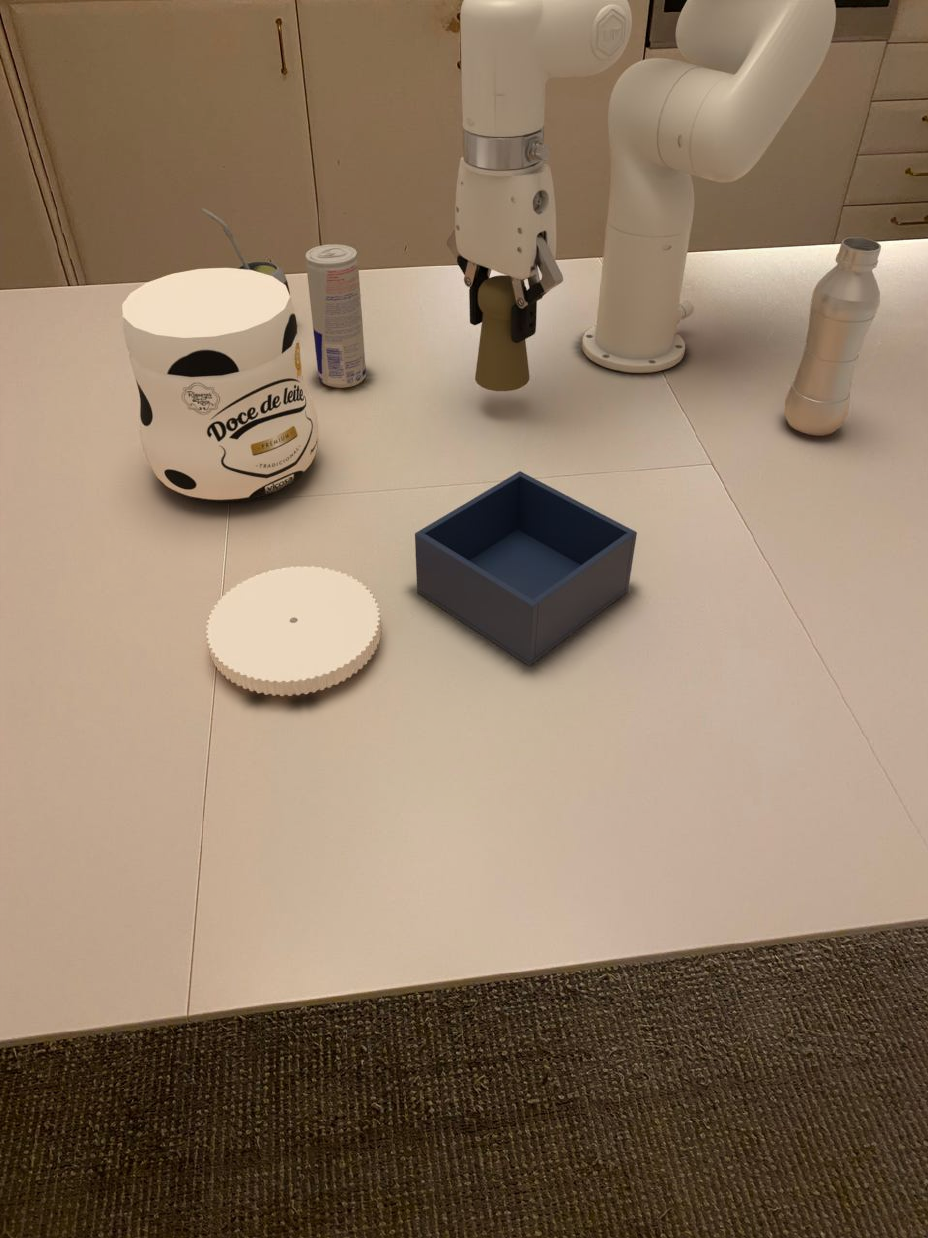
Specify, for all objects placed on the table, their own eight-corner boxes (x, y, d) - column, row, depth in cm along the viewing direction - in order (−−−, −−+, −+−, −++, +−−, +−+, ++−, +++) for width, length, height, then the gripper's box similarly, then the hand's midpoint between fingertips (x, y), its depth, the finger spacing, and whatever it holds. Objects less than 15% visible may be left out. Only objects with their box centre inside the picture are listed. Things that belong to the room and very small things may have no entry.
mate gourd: (303, 333, 121) (289, 212, 111) (246, 349, 118) (226, 226, 108) (277, 312, 126) (261, 194, 116) (221, 327, 122) (200, 207, 112)
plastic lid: (385, 587, 84) (383, 564, 83) (377, 703, 74) (375, 680, 72) (226, 588, 84) (221, 566, 82) (196, 706, 74) (190, 683, 72)
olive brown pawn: (525, 393, 102) (527, 295, 95) (470, 389, 103) (467, 291, 96) (533, 366, 106) (536, 269, 99) (480, 361, 107) (479, 266, 100)
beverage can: (374, 373, 114) (366, 247, 103) (351, 394, 110) (340, 265, 100) (334, 363, 115) (322, 239, 105) (309, 384, 111) (295, 256, 101)
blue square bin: (517, 528, 91) (519, 470, 86) (628, 591, 84) (637, 532, 80) (416, 592, 84) (414, 533, 79) (529, 666, 77) (533, 606, 73)
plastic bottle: (809, 449, 101) (862, 262, 88) (766, 419, 106) (811, 238, 92) (854, 434, 104) (913, 250, 90) (810, 406, 108) (860, 227, 95)
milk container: (293, 526, 91) (267, 351, 79) (123, 508, 93) (72, 335, 81) (341, 432, 103) (325, 269, 91) (191, 418, 106) (155, 256, 94)
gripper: (601, 155, 86) (587, 342, 98) (465, 118, 95) (469, 293, 107) (546, 178, 82) (540, 369, 95) (410, 137, 91) (421, 316, 103)
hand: (502, 327), depth 101 cm, fingers closed on olive brown pawn, 5 cm apart
